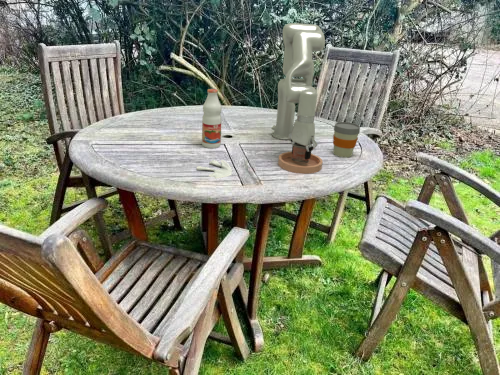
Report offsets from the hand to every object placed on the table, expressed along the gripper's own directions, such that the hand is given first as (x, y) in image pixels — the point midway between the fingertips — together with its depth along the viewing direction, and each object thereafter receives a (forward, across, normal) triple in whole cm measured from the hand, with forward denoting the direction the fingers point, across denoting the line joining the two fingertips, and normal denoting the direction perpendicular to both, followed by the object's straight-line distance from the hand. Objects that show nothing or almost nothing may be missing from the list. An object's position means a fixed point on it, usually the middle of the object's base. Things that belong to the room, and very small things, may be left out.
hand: (300, 155), depth 186 cm
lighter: (+3, 0, 0) cm, 3 cm away
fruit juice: (+5, -43, -19) cm, 47 cm away
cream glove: (+5, -19, -36) cm, 41 cm away
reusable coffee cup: (+5, +2, +30) cm, 30 cm away
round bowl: (+4, 0, 0) cm, 4 cm away
